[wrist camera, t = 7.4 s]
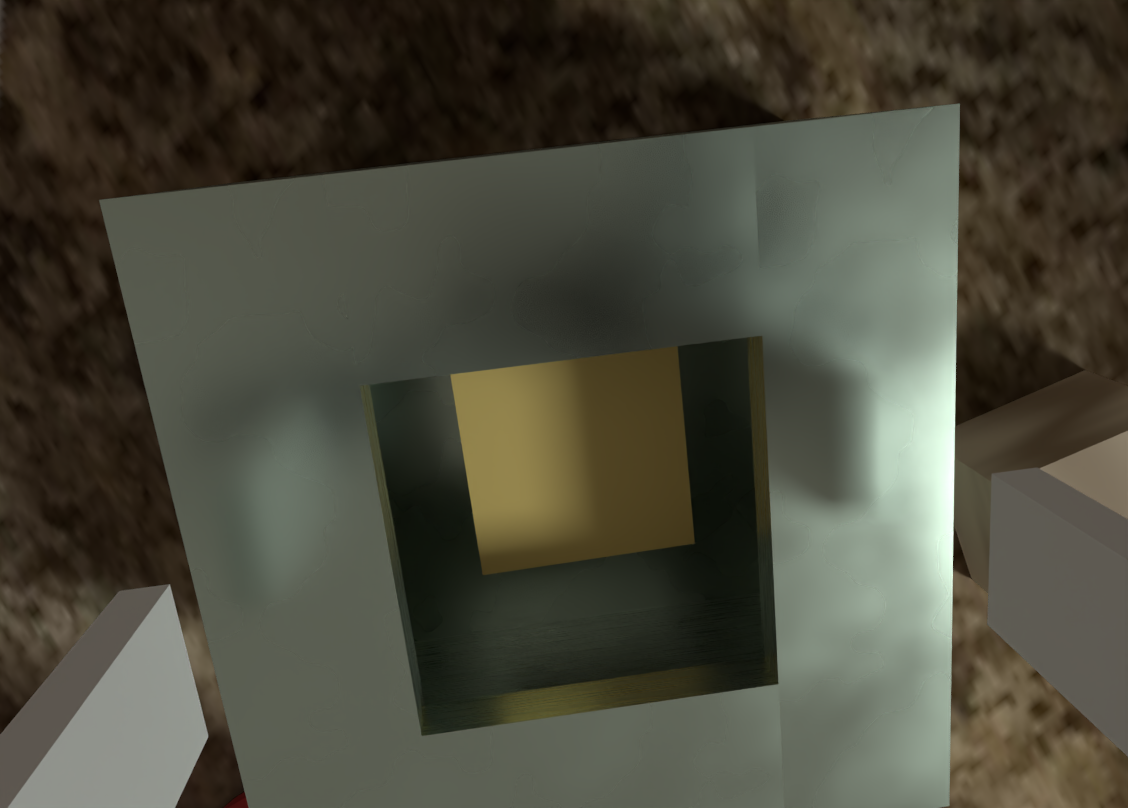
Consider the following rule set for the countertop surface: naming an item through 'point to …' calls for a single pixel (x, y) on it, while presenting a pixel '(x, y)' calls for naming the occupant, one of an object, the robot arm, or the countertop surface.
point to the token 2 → (1042, 453)
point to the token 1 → (575, 458)
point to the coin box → (595, 586)
